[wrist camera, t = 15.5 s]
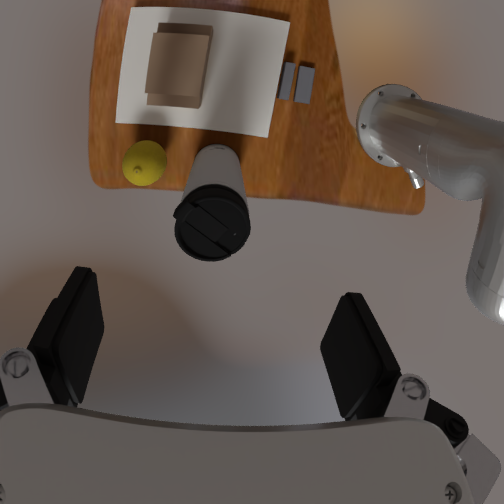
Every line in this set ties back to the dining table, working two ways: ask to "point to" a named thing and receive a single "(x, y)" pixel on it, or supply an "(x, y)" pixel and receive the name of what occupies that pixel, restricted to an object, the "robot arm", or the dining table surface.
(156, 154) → the lemon
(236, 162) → the travel mug
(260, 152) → the dining table surface
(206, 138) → the dining table surface
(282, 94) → the dark grey block
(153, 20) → the board
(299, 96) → the dark grey block
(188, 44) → the block
